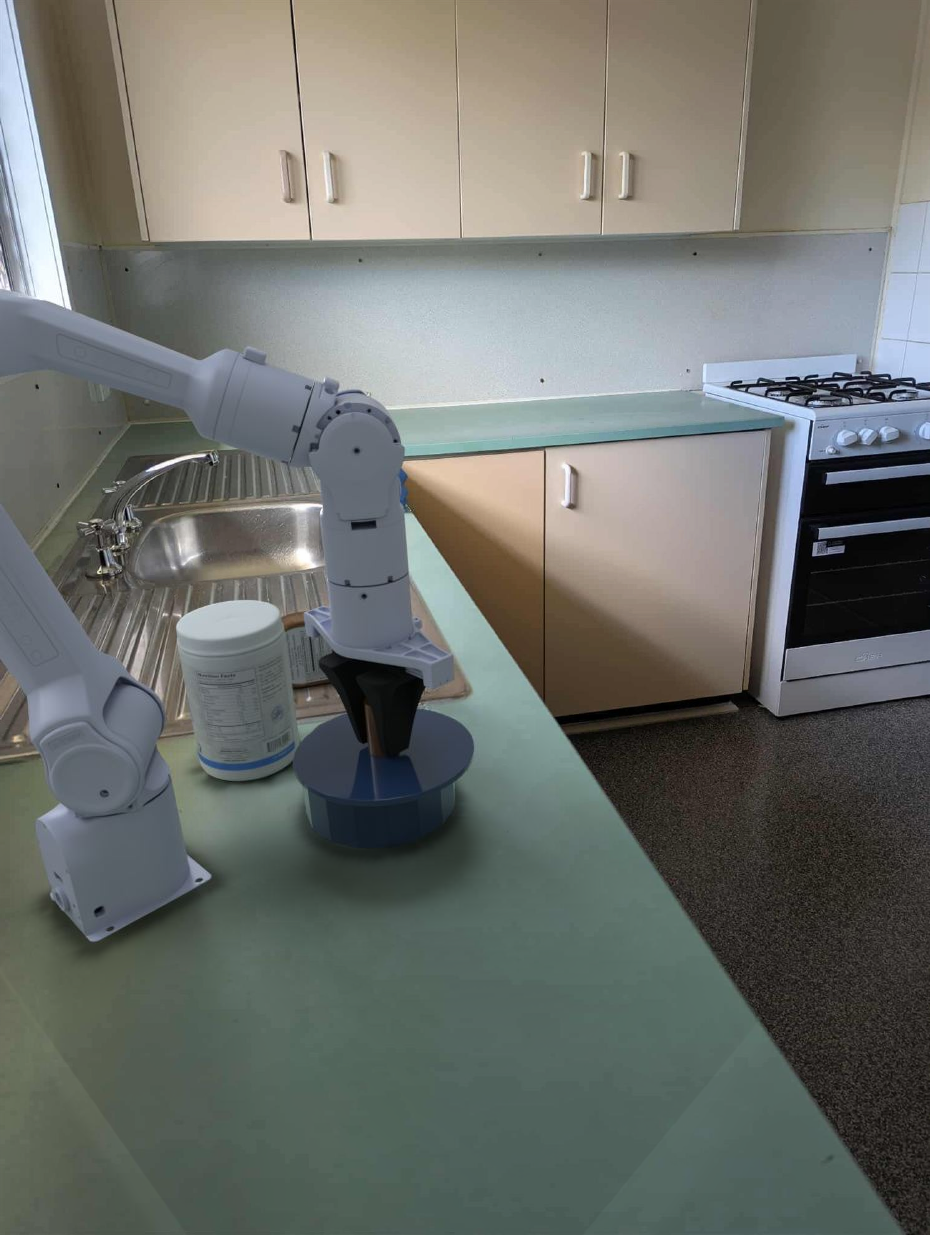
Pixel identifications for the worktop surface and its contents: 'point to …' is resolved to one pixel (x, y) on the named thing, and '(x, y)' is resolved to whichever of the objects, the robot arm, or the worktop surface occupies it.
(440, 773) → the lid
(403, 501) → the grapes
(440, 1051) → the worktop surface
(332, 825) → the crock
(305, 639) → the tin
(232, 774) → the supplement tub
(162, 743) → the worktop surface
